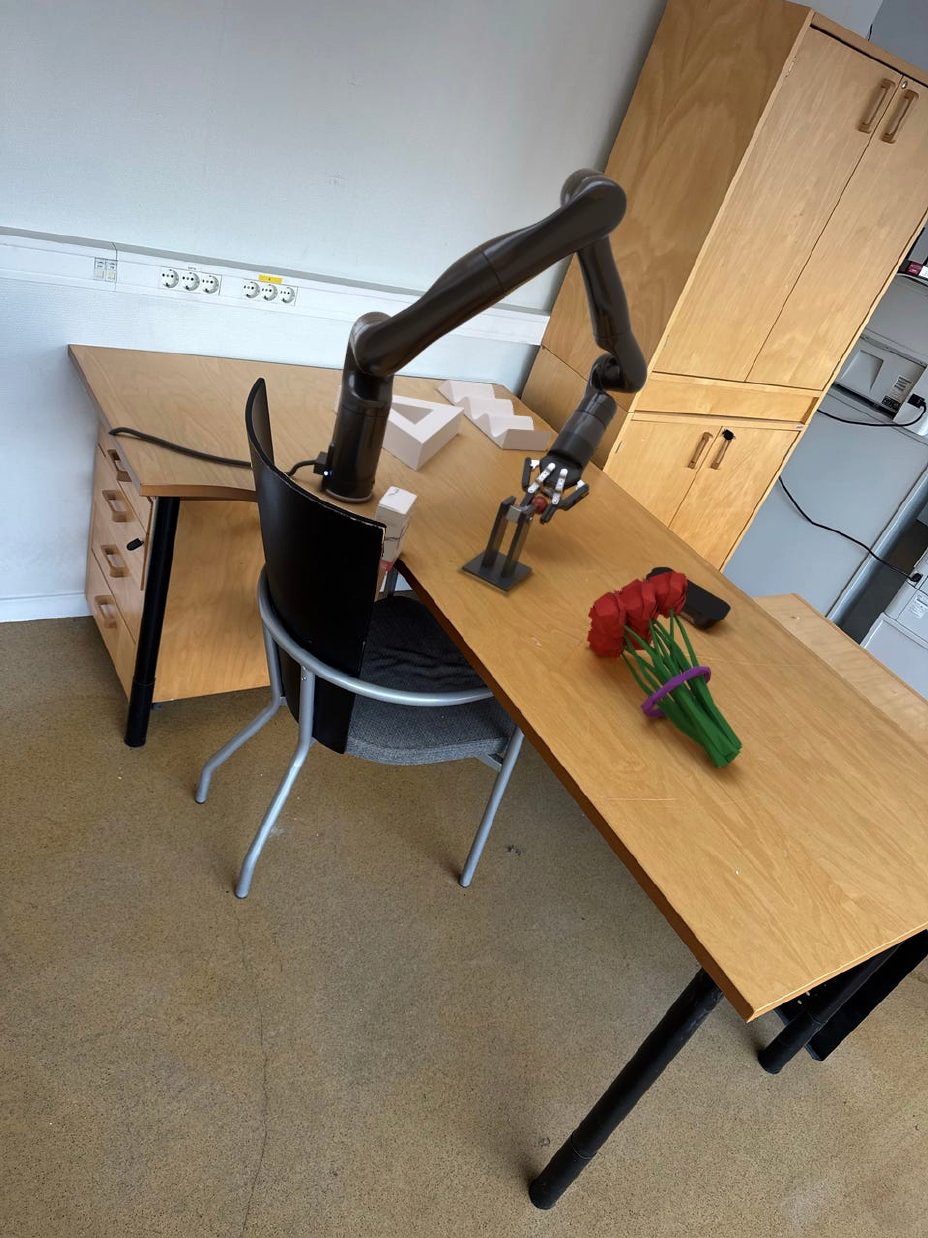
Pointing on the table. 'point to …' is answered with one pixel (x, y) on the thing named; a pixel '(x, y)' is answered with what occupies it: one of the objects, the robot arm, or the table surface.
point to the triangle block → (418, 428)
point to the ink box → (394, 522)
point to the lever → (516, 510)
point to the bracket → (496, 564)
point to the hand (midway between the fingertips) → (531, 517)
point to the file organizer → (495, 416)
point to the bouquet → (663, 659)
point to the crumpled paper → (547, 489)
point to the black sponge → (698, 603)
